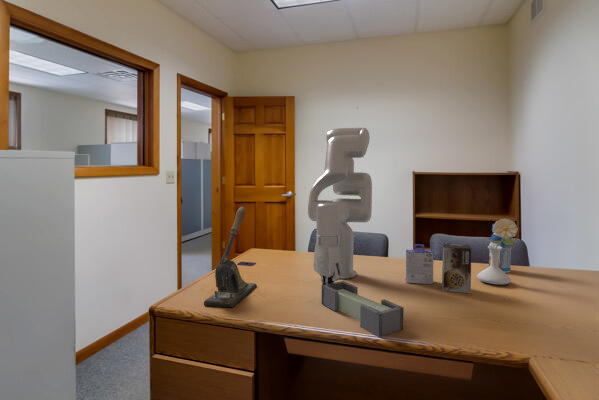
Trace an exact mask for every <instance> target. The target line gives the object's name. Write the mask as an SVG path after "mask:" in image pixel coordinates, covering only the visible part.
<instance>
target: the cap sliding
mask: <svg viewBox="0 0 599 400" xmlns="http://www.w3.org/2000/svg"><path fill="white" fill-rule="evenodd" d="M340 289H344V290H347V291H349V292H352V293H354V294H357V295H359V293H358V289H359V288H358V286H357V285H354V284H351V283H350V282H346V281H345V280H342V281H335V282H334V283H331V284H326V285H321V305H323V306H324V307H327V308H328V309H330V310H332V311H334V312H337V311H339V310H338V291H337V290H340Z"/></svg>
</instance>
